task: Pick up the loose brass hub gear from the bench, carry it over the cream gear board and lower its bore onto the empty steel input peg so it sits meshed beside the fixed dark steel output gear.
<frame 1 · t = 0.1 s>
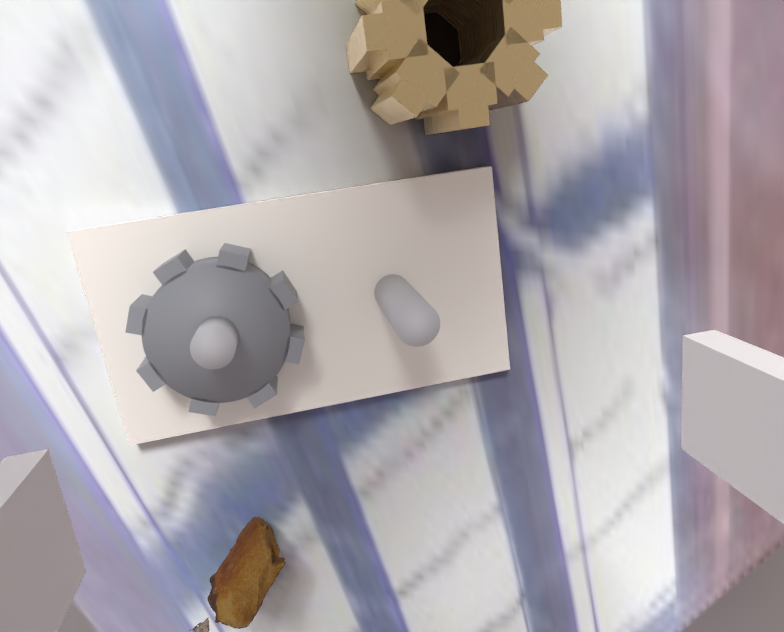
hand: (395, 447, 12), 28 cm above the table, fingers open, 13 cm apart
gear board: (308, 302, 40), on the table
rock: (241, 550, 44), on the table
brass gear: (427, 49, 37), on the table
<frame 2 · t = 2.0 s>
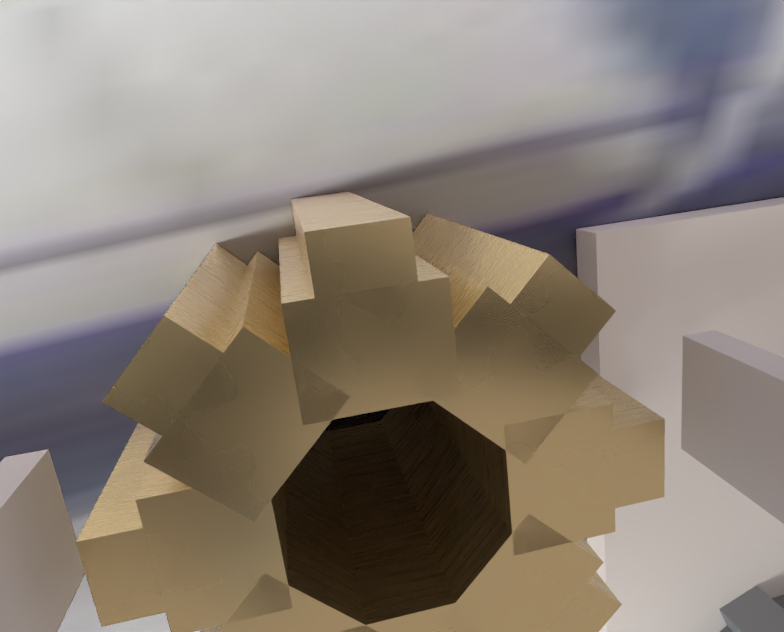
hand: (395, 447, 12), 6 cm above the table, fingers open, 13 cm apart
gear board: (760, 544, 23), on the table
brass gear: (345, 365, 18), on the table
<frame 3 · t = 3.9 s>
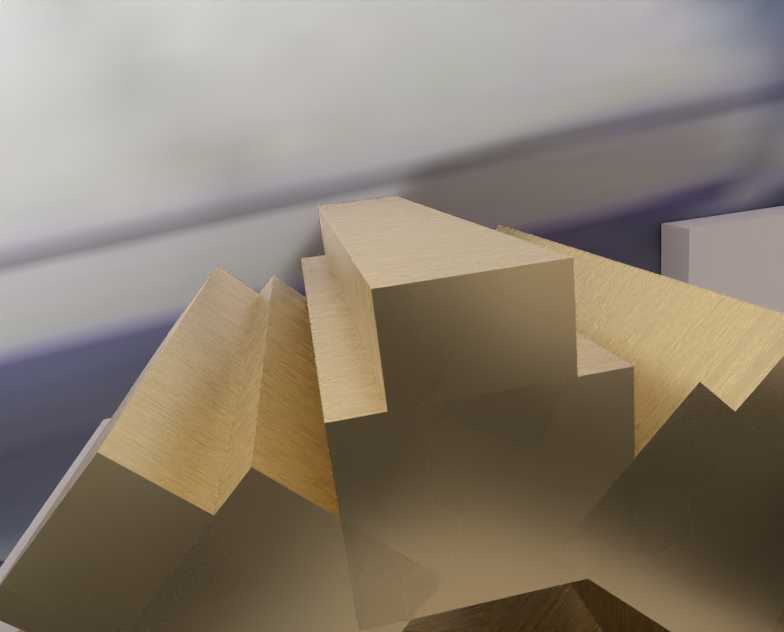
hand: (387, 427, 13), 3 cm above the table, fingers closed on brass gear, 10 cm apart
brass gear: (386, 423, 14), point 2 cm above the table, touching gripper
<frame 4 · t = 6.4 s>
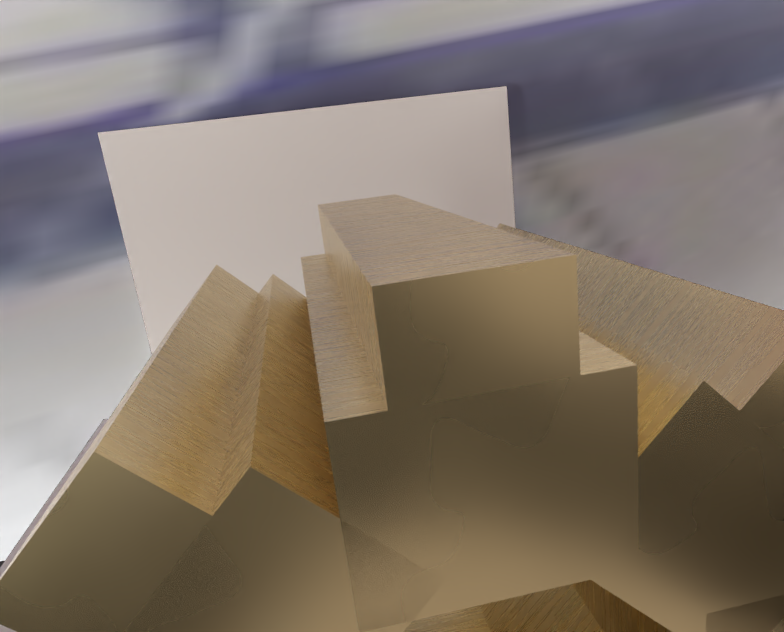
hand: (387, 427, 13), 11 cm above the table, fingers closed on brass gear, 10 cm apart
gear board: (358, 435, 25), on the table
brass gear: (386, 422, 13), point 11 cm above the table, touching gripper
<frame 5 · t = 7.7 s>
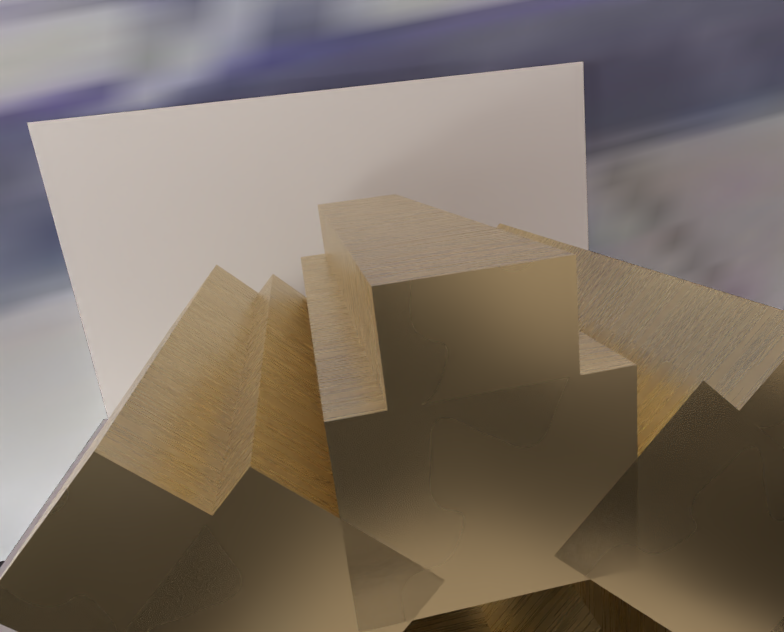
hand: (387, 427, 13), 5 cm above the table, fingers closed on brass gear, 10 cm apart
gear board: (379, 511, 20), on the table
brass gear: (386, 422, 13), point 5 cm above the table, touching gripper
when the fingers open (3 cm above the table, at t = 8.7 s): brass gear drops 2 cm, resting on gear board.
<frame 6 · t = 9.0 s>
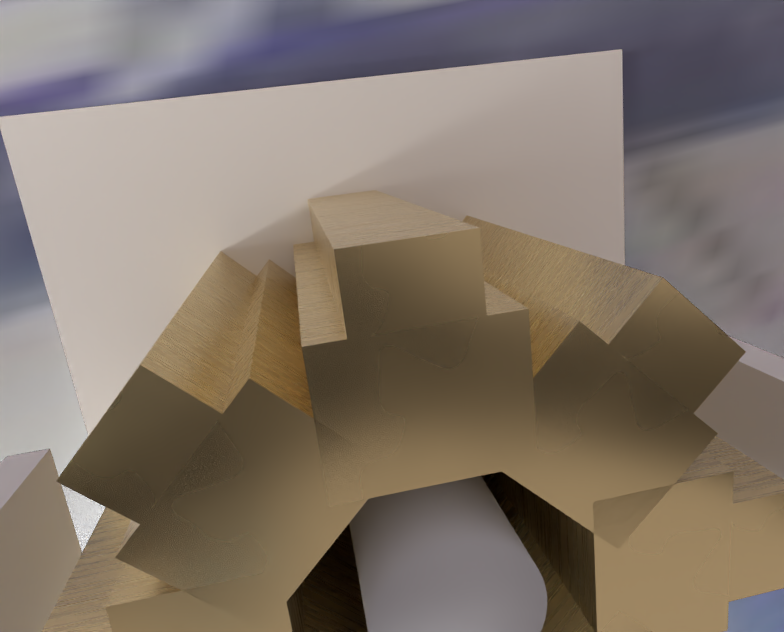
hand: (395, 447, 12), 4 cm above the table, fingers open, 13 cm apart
gear board: (391, 543, 18), on the table
brass gear: (369, 390, 15), point 1 cm above the table, touching gear board
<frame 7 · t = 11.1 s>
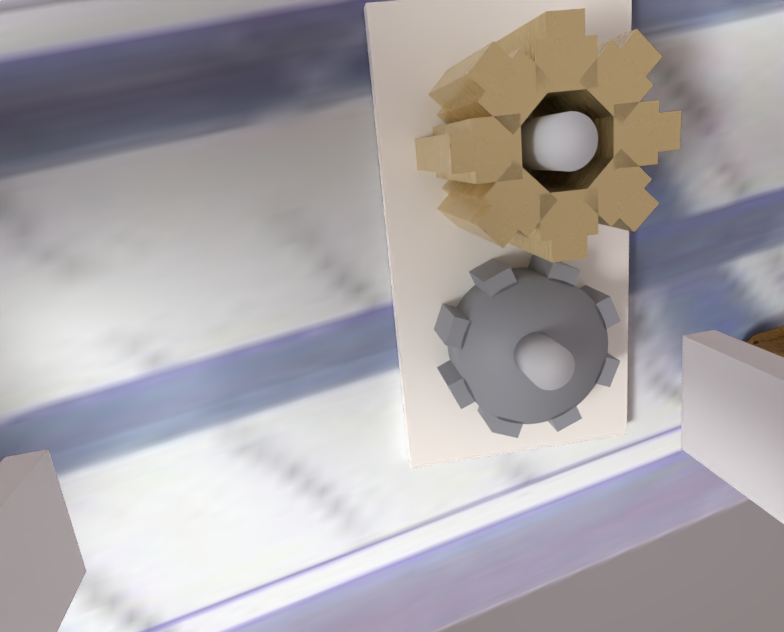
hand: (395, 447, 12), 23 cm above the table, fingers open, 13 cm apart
gear board: (506, 242, 35), on the table
rock: (771, 357, 40), on the table
brass gear: (506, 145, 32), point 1 cm above the table, touching gear board
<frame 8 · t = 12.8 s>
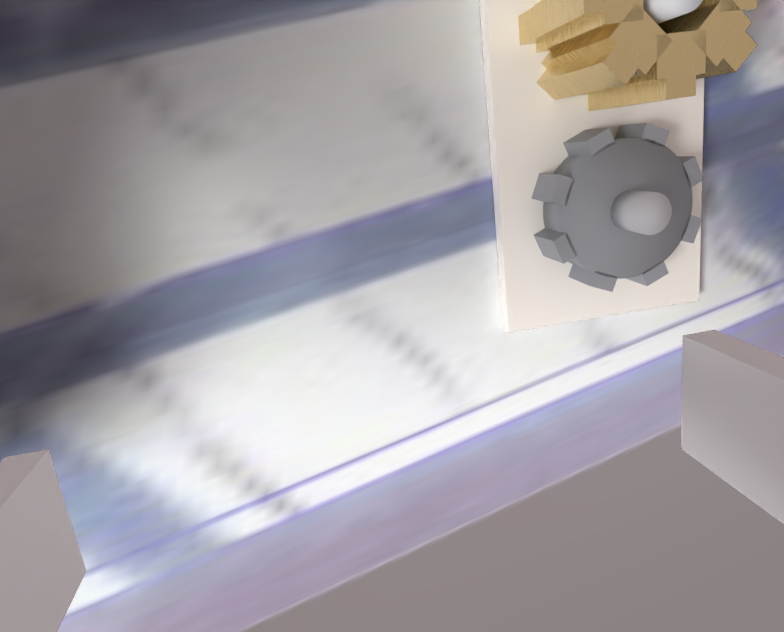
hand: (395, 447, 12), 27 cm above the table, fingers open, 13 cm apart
gear board: (592, 119, 39), on the table
brass gear: (598, 22, 36), point 1 cm above the table, touching gear board
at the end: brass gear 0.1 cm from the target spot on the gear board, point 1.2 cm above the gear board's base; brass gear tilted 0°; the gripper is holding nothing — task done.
